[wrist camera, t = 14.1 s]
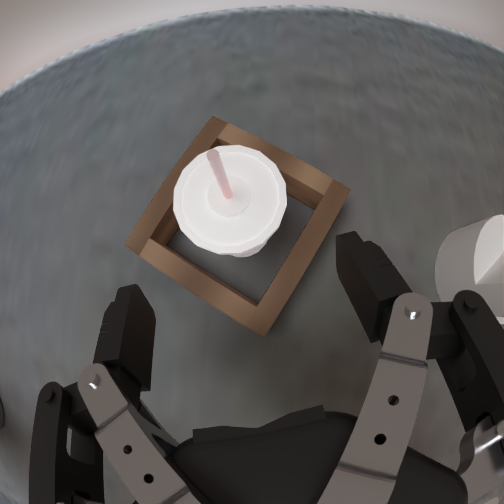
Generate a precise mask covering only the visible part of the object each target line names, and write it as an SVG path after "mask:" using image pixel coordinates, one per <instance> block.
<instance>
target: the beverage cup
mask: <svg viewBox="0 0 504 504" xmlns="http://www.w3.org/2000/svg"><path fill="white" fill-rule="evenodd" d="M286 206H287V198H286V183H285V181H284V179H283V177H282V175H281V173H280V172H279V170H278V168H277V166H276V164H275V163H273V162H272V161H271V160H270V159H269V158H267V157H266V156H265V155H264V154H262V153H261V152H260V151H257V150H254V149H251V148H248V147H245V146H241V145H229V146H217V147H215V148H213V149H210V150H208V151H206V152H204V153H201V154H199V155H198V156H197V157H196V158H194V159H193V160H192V161H191V162H190V163H189V164H188V165H187V166H186V167H185V168H184V169H183V171H182V173H181V175H180V177H179V179H178V181H177V184H176V186H175V188H174V200H173V211H174V214H175V216H176V219H177V221H178V224H179V227H180V229H181V231H182V232H183V233H184V234H185V235H186V236H187V237H188V238H189V239H190V240H191V241H192V242H193V243H194V244H195V245H197V246H199V247H201V248H204V249H206V250H209V251H212V252H214V253H217V254H219V255H227V254H230V255H232V256H235V257H248V256H251V255H253V254H255V253H257V252H259V251H260V249H261V248H262V247H263V246H264V245H265V244H266V242H267V240H268V239H269V238H270V237H271V236H272V234H273V233H274V232H275V231H276V230H277V229H278V227H279V225H280V223H281V220H282V217H283V214H284V212H285V209H286Z"/></svg>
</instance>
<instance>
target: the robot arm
mask: <svg viewBox="0 0 504 504" xmlns="http://www.w3.org/2000/svg"><path fill="white" fill-rule="evenodd" d="M336 268H337V273H338V276H339V279H340V281H341V283H342V285H343V287H344V289H345V291H346V293H347V295H348V297H349V299H350V301H351V303H352V305H353V307H354V309H355V311H356V313H357V315H358V317H359V319H360V321H361V323H362V325H363V327H364V330H365V332H366V334H367V336H368V338H369V340H370V342H371V343H373V342H376V341H379V340H380V342H381V344H382V346H383V347H382V351H381V354H380V357H379V360H378V364H377V367H376V370H375V373H374V376H373V379H372V382H371V385H370V388H369V391H368V393H367V396H366V399H365V402H364V404H363V407H362V410H361V412H360V415H359V417H356V416H354V415H350V414H347V413H342V412H331V411H329V412H325V411H324V408H323V405H320V406H316V407H312V408H309V409H305V410H301V411H297V412H293V413H289V414H287V415H285V416H283V417H281V418H279V419H277V420H275V421H273V422H271V423H268V424H266V425H264V426H262V427H259V428H243V427H231V426H218V427H210V428H202V429H193V437H192V438H190V439H188V440H186V441H184V442H182V443H181V444H179V443H178V442H177V441H176V440H175V439H174V438H173V437H171V436H170V435H169V434H168V433H167V432H166V431H165V429H164V428H163V427H162V426H161V424H160V423H159V422H158V421H157V419H156V418H155V417H154V416H153V414H152V413H151V412H150V410H149V409H148V408H147V407H146V405H145V404H144V403H143V401H142V400H141V399H140V392H142V391H150V387H151V371H152V358H153V346H154V335H155V326H156V318H155V314H154V311H153V309H152V307H151V305H150V304H149V302H148V300H147V299H146V297H145V296H144V294H143V292H142V291H141V289H140V287H139V286H138V285H137V284H133V285H129V286H124V287H120V288H119V289H118V291H117V294H116V298H115V302H111V304H110V305H109V307H108V308H107V310H106V311H105V313H104V317H103V321H102V325H101V329H100V333H99V337H98V342H97V346H96V351H95V355H94V360H93V364H91V365H89V366H87V367H86V368H85V369H84V370H83V371H82V372H81V374H80V376H79V378H78V382H76V383H74V384H71V385H69V386H67V387H64V388H63V387H62V386H61V385H59V384H58V383H57V382H49V383H47V384H46V385H45V386H44V387H43V388H42V389H41V391H40V393H39V396H38V401H37V407H36V413H35V419H34V427H33V434H32V443H31V454H30V469H29V504H105V501H104V483H103V451H104V453H105V454H106V456H107V458H108V459H109V461H110V463H111V464H112V466H113V467H114V469H115V470H116V472H117V474H118V475H119V477H120V478H121V480H122V481H123V483H124V484H125V485H126V487H127V488H128V490H129V491H130V492H131V494H132V495H133V497H134V498H135V499H136V500H135V501H134V503H133V504H469V503H471V502H472V501H474V500H476V499H477V498H479V497H481V496H482V495H484V494H485V493H487V492H488V491H490V490H492V489H493V488H495V487H496V486H497V485H499V484H500V483H502V482H503V481H504V330H503V328H502V326H501V325H500V323H499V321H498V320H497V318H496V317H495V315H494V314H493V312H492V310H491V309H490V307H489V306H488V304H487V303H486V301H485V300H484V299H483V297H482V296H481V295H480V294H478V293H477V292H475V291H472V290H462V291H459V292H458V293H457V294H456V295H455V296H454V299H453V301H450V302H430V301H429V300H428V299H427V298H426V297H424V296H423V295H421V294H418V293H413V292H412V291H411V289H410V288H409V286H408V285H407V283H406V282H405V280H404V279H403V278H402V276H401V275H400V273H399V272H398V271H397V269H396V268H395V266H394V265H392V262H391V261H390V259H389V258H387V255H386V254H385V253H384V251H383V250H382V249H381V247H379V246H378V245H376V244H375V243H373V242H372V241H366V242H363V241H362V239H361V238H360V236H359V235H358V234H357V232H355V231H352V232H348V233H344V234H340V235H337V236H336ZM427 359H436V361H437V363H438V365H439V367H440V369H441V372H442V374H443V376H444V379H445V381H446V383H447V385H448V388H449V390H450V393H451V395H452V397H453V400H454V402H455V405H456V408H457V410H458V413H459V415H460V418H461V421H462V423H463V426H464V429H465V432H466V433H465V434H464V436H463V437H462V440H461V442H460V447H459V451H460V464H459V467H458V469H457V471H456V472H455V471H454V470H452V469H450V468H448V467H446V466H444V465H442V464H440V463H438V462H436V461H434V460H432V459H431V458H429V457H427V456H425V455H423V454H421V453H419V452H417V451H416V450H414V449H412V448H410V447H408V443H409V440H410V436H411V433H412V430H413V427H414V423H415V420H416V416H417V413H418V409H419V405H420V401H421V397H422V393H423V389H424V384H425V380H426V375H427V368H428V365H427V364H426V363H425V362H426V360H427ZM3 422H4V415H3V409H2V405H1V402H0V428H1V427H2V425H3ZM68 428H70V429H72V437H71V455H70V456H69V455H68V453H67V449H66V443H67V430H68Z"/></svg>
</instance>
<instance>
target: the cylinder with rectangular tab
mask: <svg viewBox="0 0 504 504" xmlns="http://www.w3.org/2000/svg"><path fill="white" fill-rule="evenodd" d="M435 281H436V288H437V292H438V295H439V297H440V300H441V302H450V301H453V299H454V296H455V295H456V294H457V293H458V292H459V291H462V290H472V291H475V292H477V293H478V294H480V295H481V296H482V297H483V299H484V300H485V301H486V303H487V304H488V306H489V307H490V309H491V310H492V312H493V314H494V315H495V317H496V318H497V320H498V321H499V323H500V324H504V215H497V216H493V217H490V218H487V219H485V220H482V221H479V222H476V223H474V224H471V225H468V226H465V227H462V228H459V229H456V230H455V231H453V232H452V233H450V234H449V235H448V236H447V237H446V239H445V240H444V241H443V242H442V245H441V247H440V249H439V251H438V254H437V259H436V263H435Z"/></svg>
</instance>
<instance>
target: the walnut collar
mask: <svg viewBox="0 0 504 504" xmlns="http://www.w3.org/2000/svg"><path fill="white" fill-rule="evenodd" d="M229 145H241V146H245V147H248V148H251V149H254V150H257V151H260V152H261V153H262V154H264V155H265V156H266V157H267V158H269V159H270V160H271V161H272V162H273V163H275V164H276V166H277V168H278V170H279V172H280V173H281V175H282V177H283V179H284V181H285V183H286V193H287V194H289V195H290V196H292V197H294V198H296V199H297V200H299V201H301V202H302V203H304V204H306V205H307V206H309V207H311V208H312V209H314V210H315V211H314V212H313V214H312V216H311V217H310V219H309V221H308V223H307V224H306V226H305V228H304V229H303V231H302V233H301V234H300V236H299V238H298V239H297V241H296V243H295V244H294V246H293V248H292V250H291V251H290V253H289V255H288V256H287V258H286V259H285V261H284V263H283V264H282V266H281V268H280V269H279V271H278V273H277V274H276V276H275V278H274V279H273V281H272V282H271V284H270V286H269V287H268V289H267V291H266V292H265V294H264V295H263V297H262V299H261V300H260V302H259V303H258V304H257V303H256V302H254V301H252V300H251V299H249V298H248V297H246V296H244V295H243V294H241V293H240V292H238V291H236V290H235V289H233V288H232V287H230V286H228V285H227V284H225V283H224V282H222V281H220V280H219V279H217V278H216V277H214V276H213V275H211V274H209V273H208V272H206V271H205V270H203V269H202V268H200V267H199V266H197V265H196V264H194V263H192V262H191V261H189V260H188V259H186V258H185V257H183V256H182V255H180V254H179V253H177V252H176V251H174V250H173V249H171V248H170V247H168V246H167V245H168V244H169V242H170V240H171V239H172V237H173V235H174V234H175V232H176V231H177V229H178V227H179V224H178V221H177V219H176V216H175V214H174V211H173V200H174V188H175V186H176V184H177V181H178V179H179V177H180V175H181V173H182V171H183V169H184V168H185V167H186V166H187V165H188V164H189V163H190V162H191V161H192V160H193V159H194V158H196V157H197V156H198V155H199V154H201V153H204V152H206V151H208V150H210V149H213V148H215V147H217V146H229ZM350 191H351V189H349V188H347V187H346V186H344V185H342V184H341V183H339V182H338V181H336V180H334V179H333V178H331V177H329V176H328V175H326V174H324V173H322V172H321V171H319V170H317V169H316V168H314V167H312V166H310V165H308V164H307V163H305V162H303V161H301V160H300V159H298V158H296V157H294V156H292V155H290V154H289V153H287V152H285V151H283V150H281V149H279V148H277V147H275V146H274V145H272V144H270V143H268V142H266V141H264V140H262V139H260V138H258V137H256V136H254V135H252V134H250V133H248V132H246V131H244V130H242V129H240V128H238V127H235V126H233V125H231V124H229V123H227V122H225V121H223V120H220V119H218V118H216V117H214V116H212V117H211V119H210V120H209V121H208V122H207V124H206V125H205V126H204V127H203V129H202V130H201V131H200V133H199V134H198V135H197V137H196V138H195V139H194V141H193V142H192V143H191V145H190V146H189V147H188V149H187V150H186V151H185V153H184V154H183V156H182V157H181V158H180V160H179V161H178V163H177V164H176V165H175V167H174V168H173V170H172V171H171V172H170V174H169V175H168V177H167V178H166V180H165V181H164V183H163V184H162V186H161V187H160V189H159V190H158V192H157V193H156V195H155V196H154V198H153V199H152V201H151V202H150V204H149V206H148V207H147V209H146V210H145V212H144V213H143V215H142V217H141V218H140V220H139V221H138V223H137V225H136V226H135V228H134V230H133V231H132V233H131V235H130V236H129V238H128V240H127V241H126V243H125V246H126V247H128V248H129V249H130V250H132V251H133V252H134V253H136V254H137V255H139V256H140V257H141V258H143V259H144V260H146V261H147V262H148V263H150V264H151V265H153V266H154V267H156V268H157V269H158V270H160V271H161V272H163V273H164V274H166V275H167V276H168V277H170V278H171V279H173V280H174V281H176V282H177V283H179V284H180V285H182V286H183V287H185V288H186V289H188V290H189V291H191V292H192V293H194V294H195V295H197V296H198V297H200V298H201V299H203V300H204V301H206V302H207V303H209V304H210V305H212V306H214V307H215V308H217V309H218V310H220V311H221V312H223V313H225V314H226V315H228V316H229V317H231V318H232V319H234V320H236V321H237V322H239V323H241V324H242V325H244V326H245V327H247V328H249V329H250V330H252V331H254V332H255V333H257V334H259V335H260V336H262V337H265V335H266V334H267V332H268V331H269V329H270V328H271V326H272V324H273V323H274V321H275V320H276V318H277V316H278V315H279V313H280V312H281V310H282V308H283V307H284V305H285V304H286V302H287V300H288V299H289V297H290V295H291V294H292V292H293V291H294V289H295V287H296V286H297V284H298V282H299V281H300V279H301V277H302V276H303V274H304V272H305V271H306V269H307V267H308V265H309V264H310V262H311V260H312V259H313V257H314V255H315V253H316V252H317V250H318V248H319V247H320V245H321V243H322V241H323V240H324V238H325V236H326V234H327V232H328V231H329V229H330V227H331V225H332V224H333V222H334V220H335V218H336V216H337V215H338V213H339V211H340V209H341V207H342V205H343V204H344V202H345V200H346V198H347V196H348V194H349V192H350Z"/></svg>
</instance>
